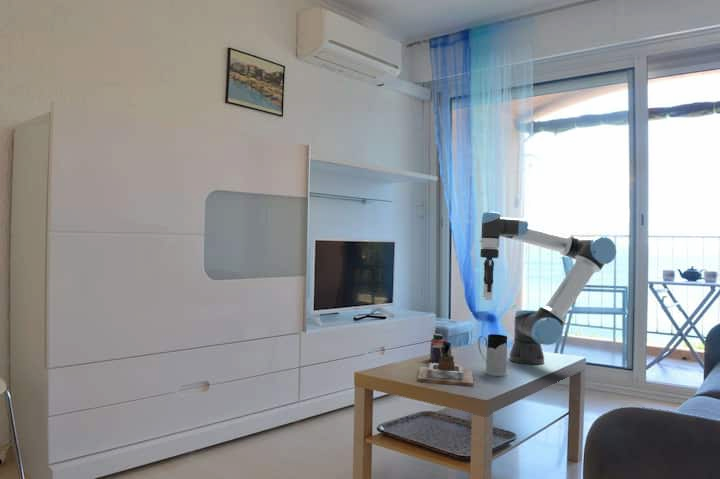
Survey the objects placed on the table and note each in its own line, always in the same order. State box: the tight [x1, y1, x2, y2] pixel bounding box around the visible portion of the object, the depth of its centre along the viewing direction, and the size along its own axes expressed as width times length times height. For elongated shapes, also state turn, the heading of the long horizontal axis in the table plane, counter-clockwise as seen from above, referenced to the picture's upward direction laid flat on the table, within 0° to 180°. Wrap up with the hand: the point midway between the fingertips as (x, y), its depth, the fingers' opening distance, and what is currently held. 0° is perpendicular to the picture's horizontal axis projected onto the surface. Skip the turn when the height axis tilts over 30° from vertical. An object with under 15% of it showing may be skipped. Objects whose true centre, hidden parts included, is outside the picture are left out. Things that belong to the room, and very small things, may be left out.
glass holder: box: [477, 333, 508, 377], centre depth 218 cm, size 9×14×15 cm, turn 36°
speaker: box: [432, 339, 452, 364], centre depth 225 cm, size 8×6×10 cm
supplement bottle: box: [429, 333, 444, 361], centre depth 236 cm, size 6×6×11 cm
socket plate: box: [417, 362, 474, 387], centre depth 204 cm, size 20×20×4 cm
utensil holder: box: [438, 343, 456, 371], centre depth 204 cm, size 6×6×12 cm
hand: (487, 298), depth 228 cm, fingers open, 13 cm apart
